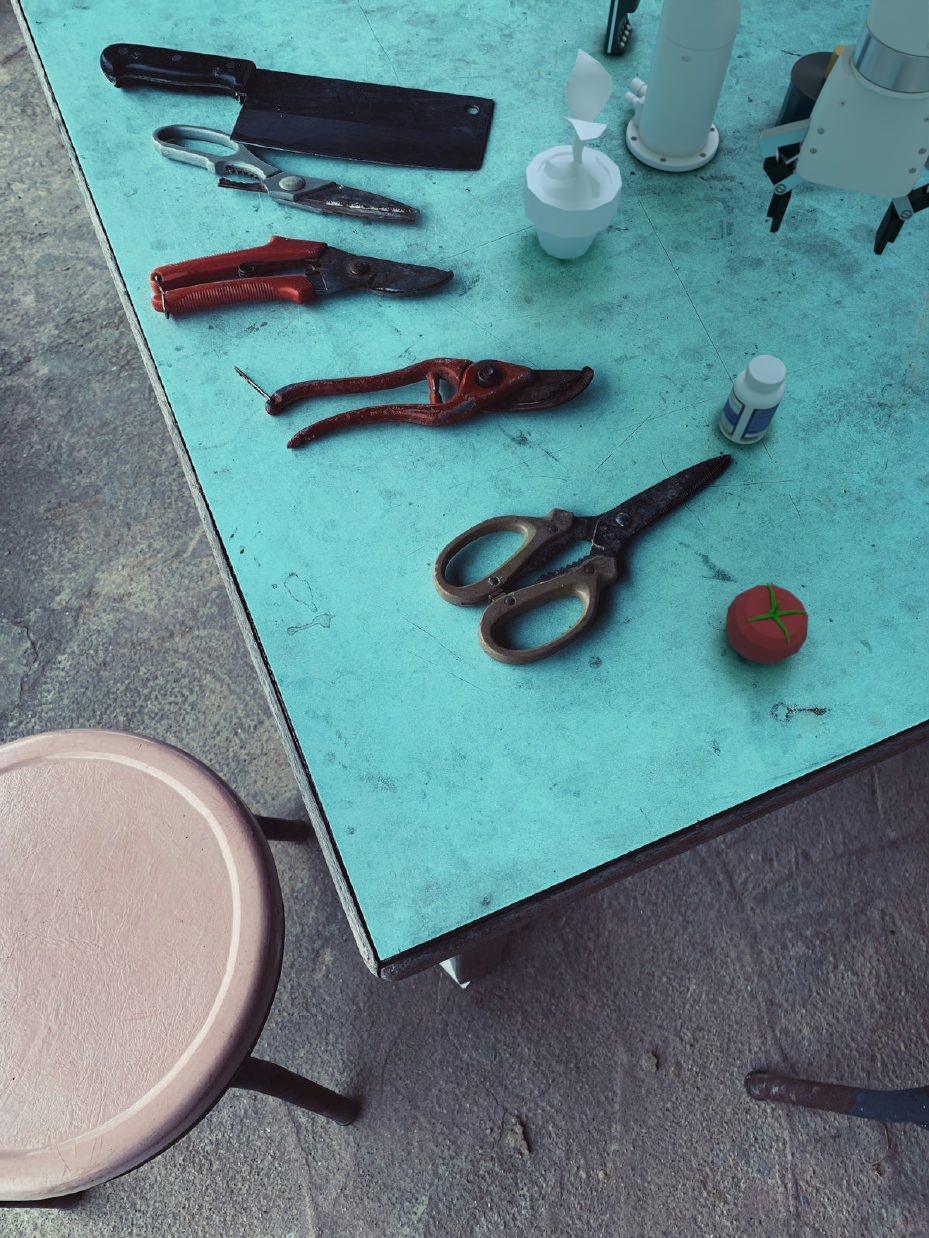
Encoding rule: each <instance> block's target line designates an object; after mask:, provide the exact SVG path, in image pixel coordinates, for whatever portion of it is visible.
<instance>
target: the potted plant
mask: <svg viewBox="0 0 929 1238" xmlns="http://www.w3.org/2000/svg"><path fill="white" fill-rule="evenodd" d="M558 46H559V43H557V45H556V48H559V47H558ZM554 51H555V60H554V61H555V62H554V70H556V68H557V65H558V49H556V50H554ZM536 73H537V82H539V81H540V79H541V77H542V76H541V73H540V69H538V70H536ZM548 86H549V85H547V88H546V89H545V90H546V91H548V89H549V87H548ZM564 94H565V100H566V105H567V107H568V110H569V112H570V115H571V117H572V118H570V117H565V116H561V118H560V119H561V120H562V121H565V122H567V124H569V126H571V127H572V128H573V131H574V138H573V141H572V144H571V145H570V144H567V145H555V146H553V147H552V146H551V147H550V148H548V149H545V150H544V151H541V152H538V153H537V154H535V156H534V157H533V158H532V160H531V161H530V163H529V164H528V166H527V167H526V168H525V172H524V184H523V185H524V186H523V206H524V213H525V214H524V215H525V216H526V217H527V218H528V219H529V220H530V221H531V222H532V223H533V225H534V229H535V231H536V232H535V233H536V234H537V238H538V243H539V245H540V247H541V248H542V249H543V250H544V251H545V252H546V253H547V255H549V256H551V257H554V258H557V259H560V260H562V259H563V260H567V259H569V260H570V259H576V258H579V257H580V256H583V255H585V254H586V253H587V252H588V250H589V248H590V246H591V245H592V243H593V242H594V240H595V238H596V237H597V235H598V233H599V232H601V231H603V230H606V229H607V228H608V227H609V225H610V224H611V222H612V221H613V219H614V217H615V216H616V214H617V213H618V207H619V203H620V198H621V192H622V186H623V182H622V176H621V172H620V167H619V165H617V163H615V162H614V161H613V160H612V159H611V158H610V157H609V156H608V155H607V154H606V153H605V152H603V151H600V150H597V149H594V148H592V147H588V146H585V145H586V143H587V142H593V141H598V140H599V139H600V138H601V136H603V135H604V133H605V132H606V131H607V129H609V125H608V124H605V123H599V122H595V120H596V119H597V117H598V116H599V115H600V114H601V112H602V111H603V109H604V108H605V107H606V105H607V103H608V101H609V99H610V98H611V96H612V95H613V77H612V75H611V74H610V73H609V72H608V71H607V70H606V69H605V68H604V66H603V65H602V64H601V63H600V62H599V61H598V60H597V59H595V58H594V57H593V56H592V55H590V54H588V53H587V52H586V51H584V50H583V49H582V48H579V49H578V52H577V56H576V59H575V63H574V65H573V67H572V69H571V71H570V74H569V76H568V80H567V82H566V86H565V88H564ZM545 99H546V100H547V99H548V95H546V98H545Z"/></svg>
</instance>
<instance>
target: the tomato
mask: <svg viewBox="0 0 929 1238" xmlns="http://www.w3.org/2000/svg"><path fill="white" fill-rule="evenodd" d="M808 626H809V615H808V612H807V611H806V609H805V606H804V603H803V602H802V601H801V600H800V599H799V598H798V597H797V596H796V595H795V594H794V593H793V592H791V591H790V590H788V589H785V588H783V587H780V586H778V585H775V584H769V582H766V584H757V585H755V586H753V587H750V588H749V589H747V590H744V591H743V592H741V593H739V594H737V595H736V596H735V597H734V599H733V600H732V602H731V603H730V604H729V605H728V607H727V611H726V617H725V628H724V629H725V630H724V631H725V634H726V636H727V640H728V642H729V644H730V647H732V649H734V650H735V651H736V652H737V653H738V654H739V655H740V656H741V657H742V658H744V659H746V660H749V661H750V662H754V663H756V664H759V665H766V664H767V665H772V664H778V663H780V662H782V661H784V660H787V659H789V658H790V657H792V656H793V655H796V654H797V653H799V651H800V650H801V648H802V647H803V645H804V644H805V642H806V641H807V637H808V630H809V629H808V628H809V627H808Z"/></svg>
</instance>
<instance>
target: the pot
mask: <svg viewBox="0 0 929 1238" xmlns="http://www.w3.org/2000/svg"><path fill="white" fill-rule="evenodd" d="M814 106H815V103H813V102H811V101H809V100H807V99H805V98H804V97H803V96H801V95H800V94H799V93H798V92H797V91H796V90H795V88H794V87H793V85H792V83H791V80H790V81H789V84H788V87H787V90H786V93H785V96H784V99H783V101H782V104H781V107H780V109H779V110H780V111H779V114H778V116H777V119H776V122H775V125H774V127H777V126H781V125H785V124H789V123H793V122H797V121H801V120H806V119H809V118H810V116H811V113H812V111H813V108H814ZM800 143H801V142H799V143H795V144H790V145H786V146H782V147H779V148H777V149H778V151H779V153H780V154H781V155H784V156H785V157H786V158H788V159H789V160H790V159H791V158H793V157H794V156H796V155H798V154H799V153H800V150H801V149H800Z"/></svg>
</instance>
